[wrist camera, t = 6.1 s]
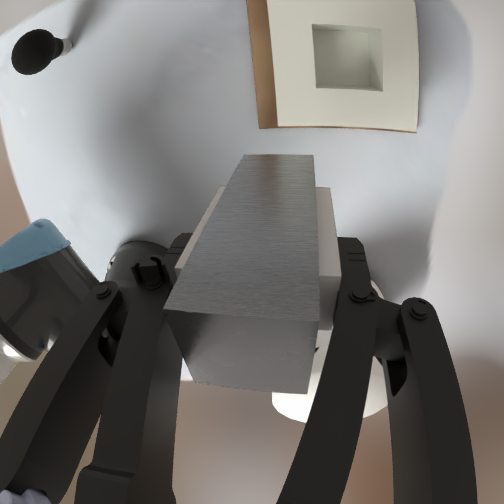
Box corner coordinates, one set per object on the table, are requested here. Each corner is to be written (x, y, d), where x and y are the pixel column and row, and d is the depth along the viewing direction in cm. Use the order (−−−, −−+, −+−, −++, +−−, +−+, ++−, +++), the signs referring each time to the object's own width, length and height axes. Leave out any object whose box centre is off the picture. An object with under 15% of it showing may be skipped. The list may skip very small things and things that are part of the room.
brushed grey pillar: (249, 213, 19) (194, 382, 10) (244, 154, 17) (162, 308, 8) (311, 215, 19) (307, 394, 9) (313, 155, 16) (319, 321, 7)
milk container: (254, 283, 46) (234, 386, 32) (360, 238, 39) (385, 348, 25) (305, 343, 54) (300, 433, 39) (393, 313, 47) (412, 407, 32)
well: (280, 115, 30) (278, 126, 25) (271, 3, 22) (265, -10, 17) (397, 118, 28) (416, 131, 23) (394, 9, 20) (414, 0, 15)
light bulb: (88, 57, 28) (35, 67, 20) (57, 71, 29) (6, 86, 21) (82, 20, 24) (29, 22, 16) (52, 37, 25) (0, 45, 17)
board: (260, 126, 32) (259, 128, 31) (247, -5, 23) (245, -7, 22) (412, 130, 29) (416, 133, 28) (411, 3, 20) (414, 1, 19)
